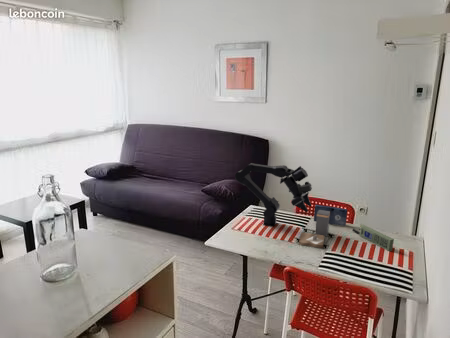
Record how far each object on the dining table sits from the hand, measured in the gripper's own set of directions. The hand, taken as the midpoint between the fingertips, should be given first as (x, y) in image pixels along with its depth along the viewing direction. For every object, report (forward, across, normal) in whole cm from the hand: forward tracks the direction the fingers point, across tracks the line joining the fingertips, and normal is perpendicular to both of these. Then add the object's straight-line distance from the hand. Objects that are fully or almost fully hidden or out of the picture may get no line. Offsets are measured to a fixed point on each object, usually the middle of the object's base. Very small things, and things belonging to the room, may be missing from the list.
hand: (309, 208), depth 188 cm
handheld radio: (+31, +2, -17) cm, 36 cm away
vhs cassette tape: (+17, +17, +1) cm, 24 cm away
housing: (+15, 0, +2) cm, 15 cm away
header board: (+13, -12, +5) cm, 19 cm away
